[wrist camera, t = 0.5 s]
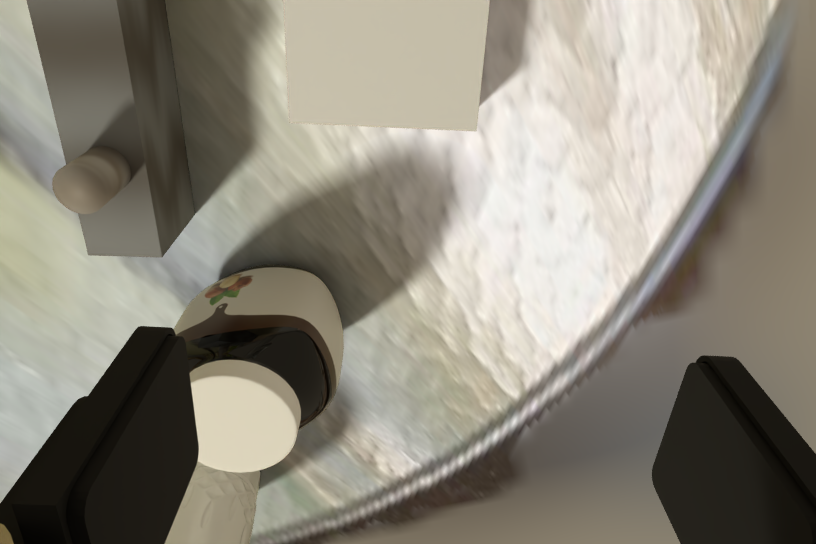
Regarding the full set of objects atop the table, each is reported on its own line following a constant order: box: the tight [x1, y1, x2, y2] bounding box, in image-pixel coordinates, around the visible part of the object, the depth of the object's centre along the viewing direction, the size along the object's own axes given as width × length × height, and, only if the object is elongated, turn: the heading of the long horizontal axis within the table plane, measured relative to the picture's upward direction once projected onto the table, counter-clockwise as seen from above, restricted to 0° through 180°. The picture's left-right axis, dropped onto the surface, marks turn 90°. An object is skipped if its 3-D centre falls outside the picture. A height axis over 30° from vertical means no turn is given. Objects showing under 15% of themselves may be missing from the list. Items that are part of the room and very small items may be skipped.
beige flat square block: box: [283, 0, 490, 131], centre depth 32 cm, size 10×10×4 cm
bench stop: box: [27, 0, 195, 257], centre depth 29 cm, size 22×4×9 cm, turn 178°
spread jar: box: [174, 264, 344, 473], centre depth 38 cm, size 12×11×12 cm
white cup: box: [165, 461, 260, 544], centre depth 45 cm, size 8×8×10 cm
